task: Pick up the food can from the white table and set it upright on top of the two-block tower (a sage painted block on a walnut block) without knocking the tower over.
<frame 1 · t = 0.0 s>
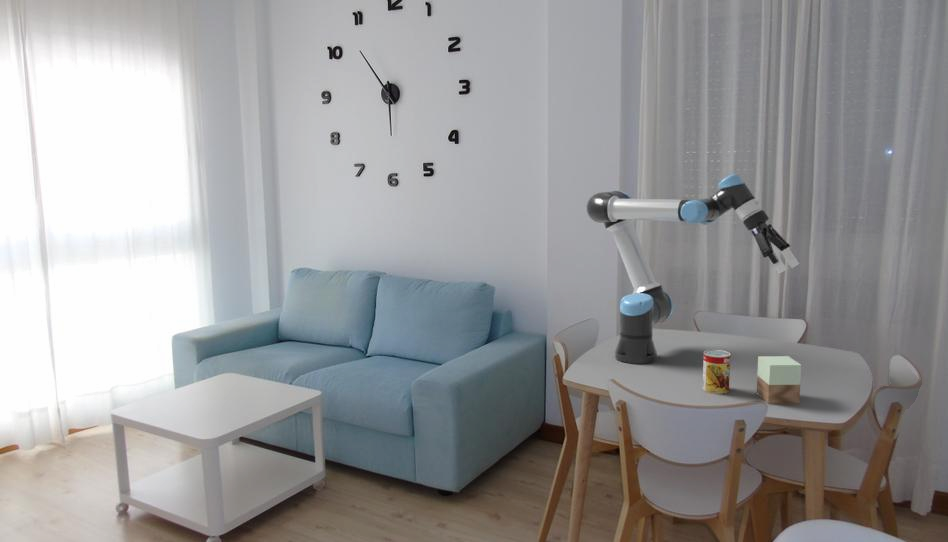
hand: (789, 268, 211), 36 cm above the table, tool tilted 35°, fingers open, 13 cm apart
sage block: (778, 379, 194), point 6 cm above the table, touching walnut block
canned food: (715, 390, 203), on the table
walnut block: (777, 398, 195), on the table, touching sage block
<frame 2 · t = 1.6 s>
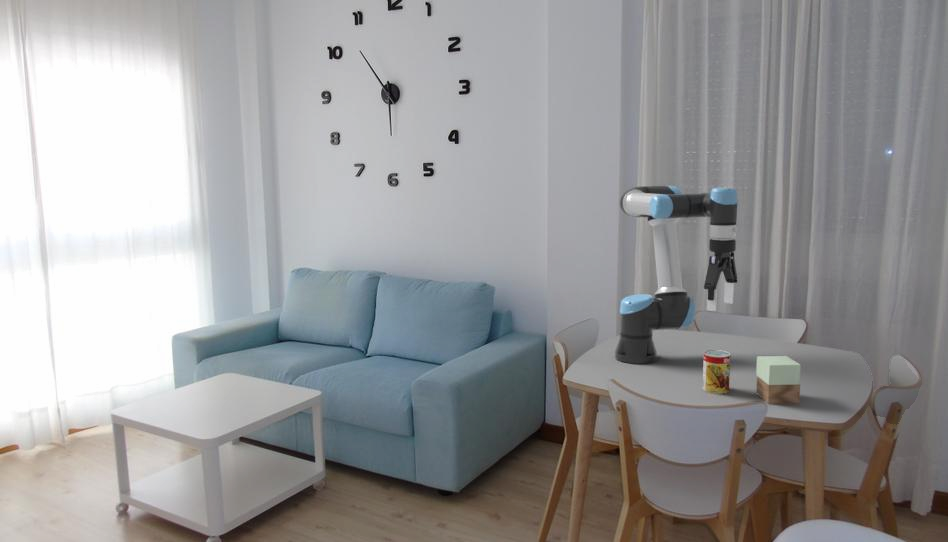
hand: (720, 306, 199), 27 cm above the table, tool pointing down, fingers open, 13 cm apart
nothing on the table moved.
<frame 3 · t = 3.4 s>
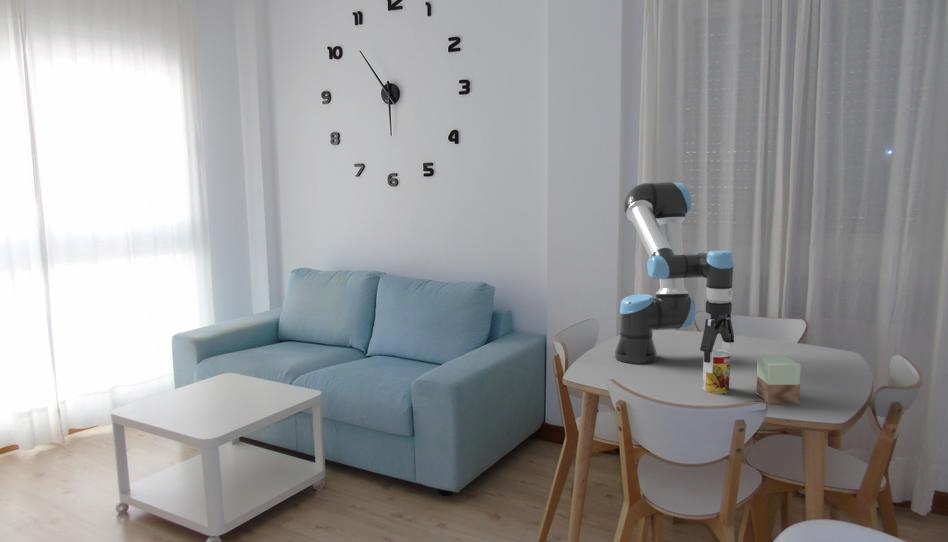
hand: (716, 367, 202), 7 cm above the table, tool pointing down, fingers open, 13 cm apart
nothing on the table moved.
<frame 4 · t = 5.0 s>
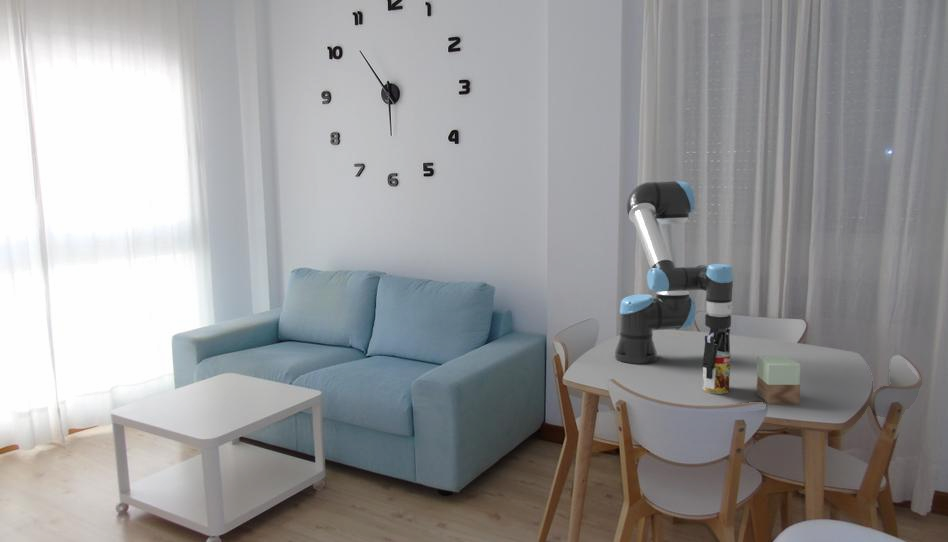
hand: (715, 384, 203), 2 cm above the table, tool pointing down, fingers closed on canned food, 8 cm apart
canned food: (715, 390, 203), on the table, touching gripper
everything else where it was.
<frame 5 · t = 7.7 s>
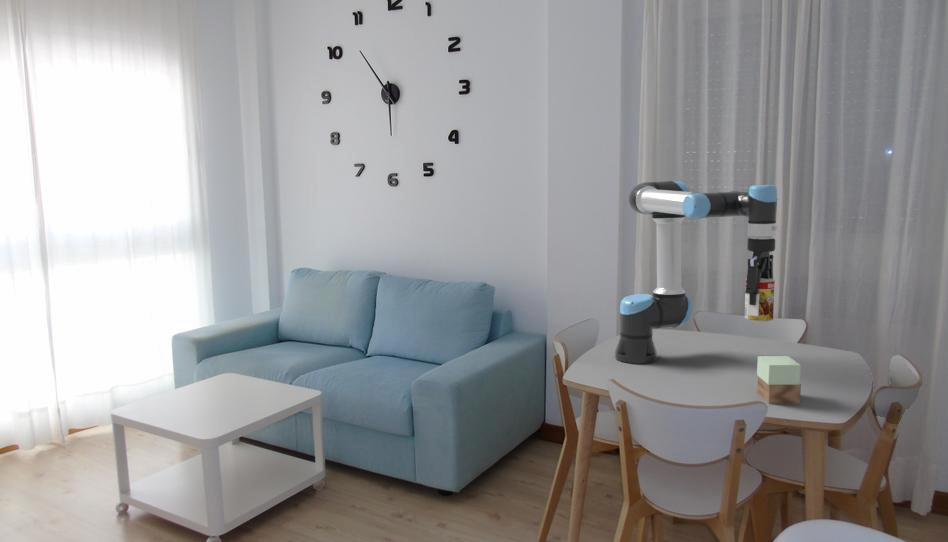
hand: (758, 312, 193), 26 cm above the table, tool pointing down, fingers closed on canned food, 8 cm apart
canned food: (758, 319, 193), point 24 cm above the table, touching gripper
everything else where it was.
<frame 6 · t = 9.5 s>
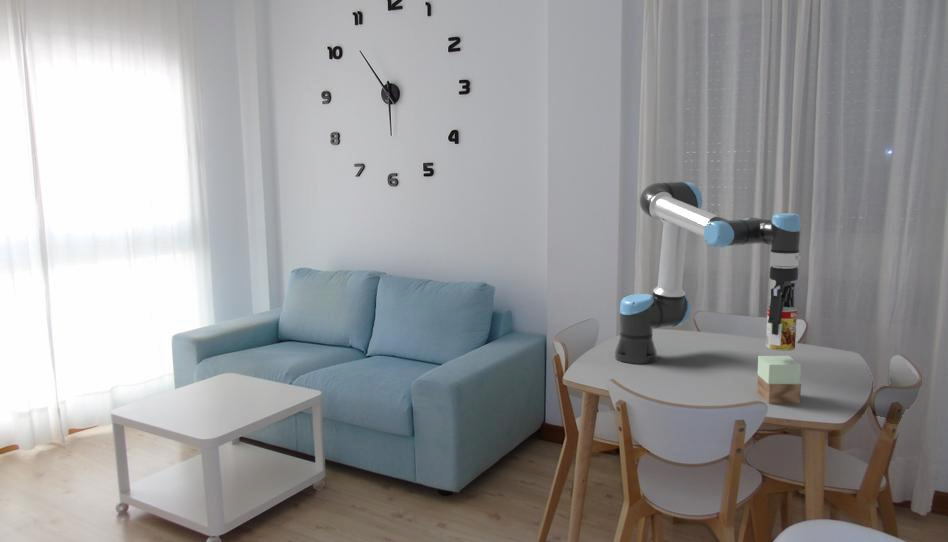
hand: (780, 341, 192), 18 cm above the table, tool pointing down, fingers closed on canned food, 8 cm apart
canned food: (780, 347, 192), point 16 cm above the table, touching gripper
everything else where it was.
when the fingers open (15 cm above the table, at t = 10.8 s): canned food drops 1 cm, resting on sage block.
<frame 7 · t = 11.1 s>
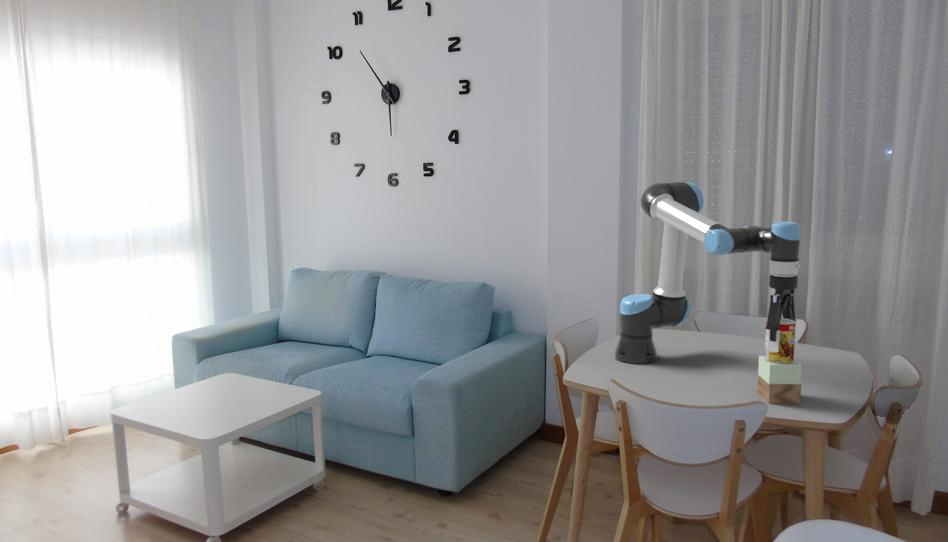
hand: (779, 347, 192), 16 cm above the table, tool pointing down, fingers open, 11 cm apart
sage block: (778, 379, 194), point 6 cm above the table, touching canned food, walnut block
canned food: (778, 360, 193), point 12 cm above the table, touching sage block
everything else where it was.
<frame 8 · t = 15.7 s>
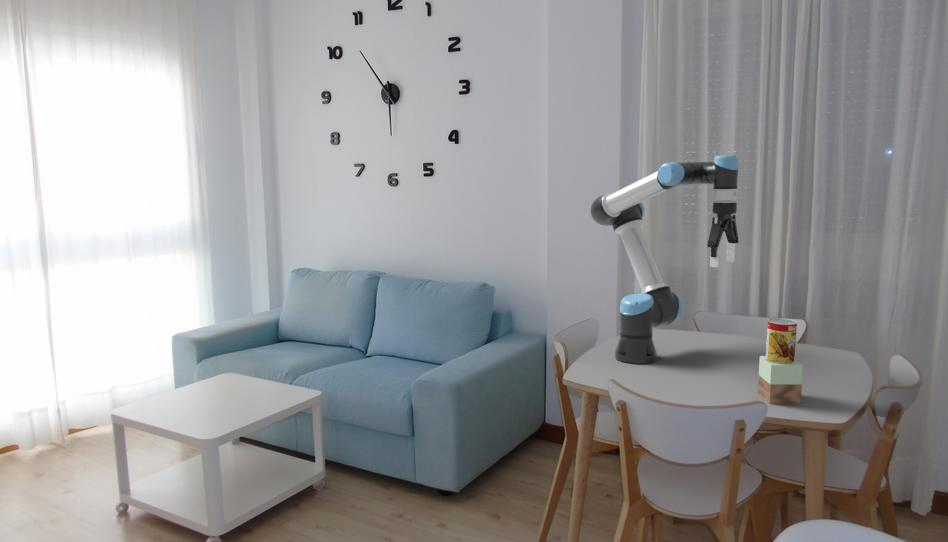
hand: (722, 264, 219), 37 cm above the table, tool pointing down, fingers open, 13 cm apart
nothing on the table moved.
at the end: canned food inside the target area on the sage block (0.4 cm from its centre), point 6.4 cm above the sage block's base; canned food tilted 9°; sage block 0.2 cm off-centre on the walnut block, point 6.0 cm above the walnut block's base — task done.
